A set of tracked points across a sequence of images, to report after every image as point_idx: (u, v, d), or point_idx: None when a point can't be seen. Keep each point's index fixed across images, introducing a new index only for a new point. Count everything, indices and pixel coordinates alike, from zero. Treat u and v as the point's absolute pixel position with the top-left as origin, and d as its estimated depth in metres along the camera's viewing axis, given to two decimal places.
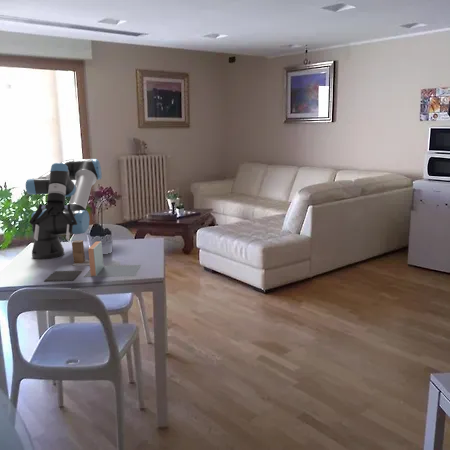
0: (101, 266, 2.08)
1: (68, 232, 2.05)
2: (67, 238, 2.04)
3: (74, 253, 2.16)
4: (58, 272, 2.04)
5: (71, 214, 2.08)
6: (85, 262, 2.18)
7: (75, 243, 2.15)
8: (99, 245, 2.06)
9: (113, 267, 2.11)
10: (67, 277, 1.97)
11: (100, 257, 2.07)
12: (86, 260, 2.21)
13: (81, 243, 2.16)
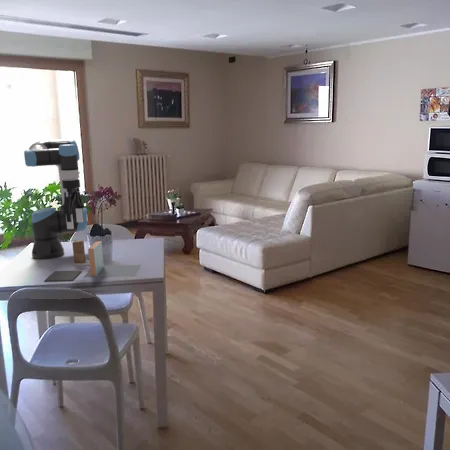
0: (101, 266, 2.08)
1: (81, 216, 2.21)
2: (82, 221, 2.22)
3: (75, 253, 2.16)
4: (58, 272, 2.04)
5: (80, 198, 2.20)
6: (86, 262, 2.18)
7: (76, 243, 2.15)
8: (99, 245, 2.06)
9: (113, 267, 2.11)
10: (67, 277, 1.97)
11: (100, 257, 2.07)
12: (86, 260, 2.21)
13: (81, 243, 2.16)
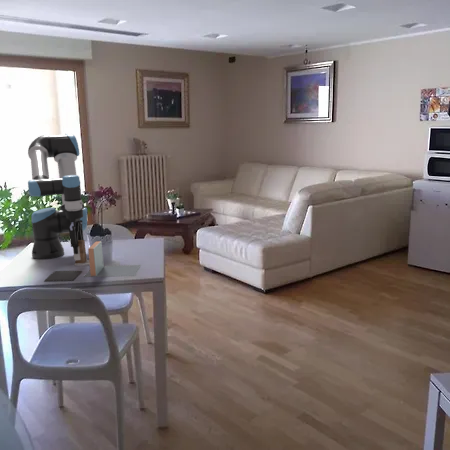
0: (101, 266, 2.08)
1: None
2: None
3: None
4: (58, 272, 2.04)
5: (82, 231, 2.21)
6: (87, 262, 2.18)
7: None
8: (99, 245, 2.06)
9: (113, 267, 2.11)
10: (67, 277, 1.97)
11: (100, 257, 2.07)
12: (87, 260, 2.21)
13: (83, 243, 2.16)
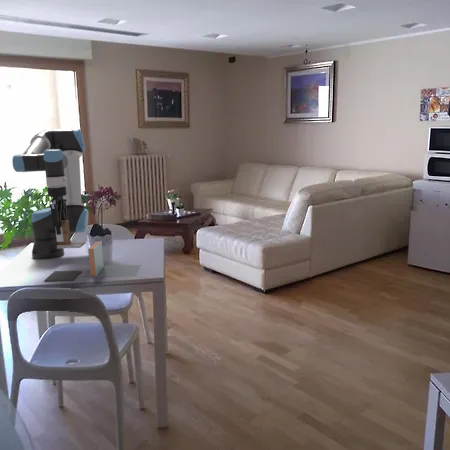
0: (101, 266, 2.08)
1: None
2: None
3: None
4: (58, 272, 2.04)
5: (66, 211, 2.05)
6: (70, 244, 2.02)
7: None
8: (99, 245, 2.06)
9: (113, 267, 2.11)
10: (67, 277, 1.97)
11: (100, 257, 2.07)
12: (71, 242, 2.05)
13: (66, 223, 2.00)
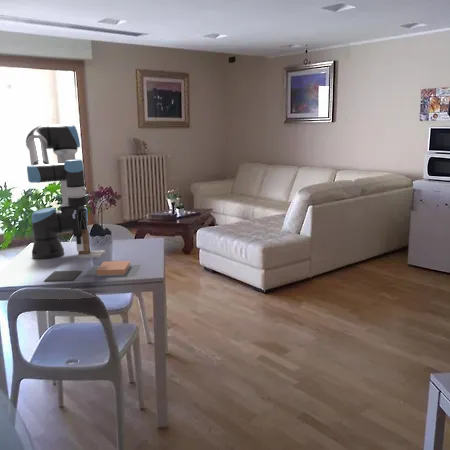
0: None
1: None
2: None
3: None
4: (58, 272, 2.04)
5: (86, 220, 2.06)
6: (90, 253, 2.03)
7: None
8: None
9: None
10: (67, 277, 1.97)
11: None
12: (91, 251, 2.06)
13: (86, 232, 2.01)
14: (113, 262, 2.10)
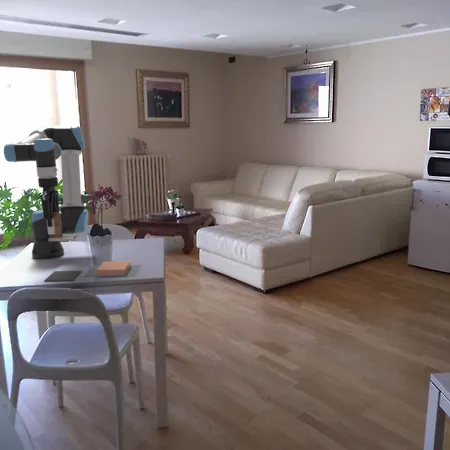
0: None
1: None
2: None
3: None
4: (58, 272, 2.04)
5: (58, 202, 1.99)
6: (62, 236, 1.96)
7: None
8: None
9: None
10: (67, 277, 1.97)
11: None
12: (64, 235, 1.98)
13: (58, 215, 1.94)
14: (113, 262, 2.10)
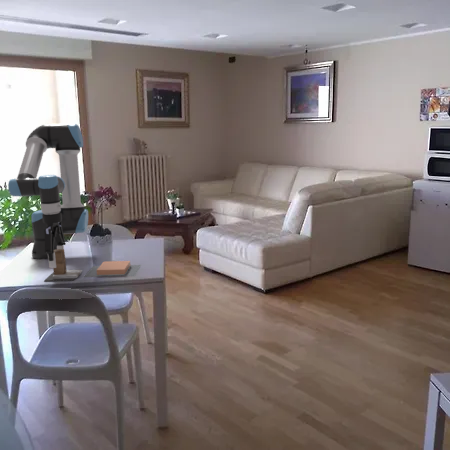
0: None
1: None
2: None
3: None
4: None
5: (62, 233, 2.03)
6: (66, 273, 1.99)
7: (55, 253, 1.96)
8: None
9: None
10: None
11: None
12: (67, 271, 2.02)
13: (62, 252, 1.97)
14: (113, 262, 2.10)
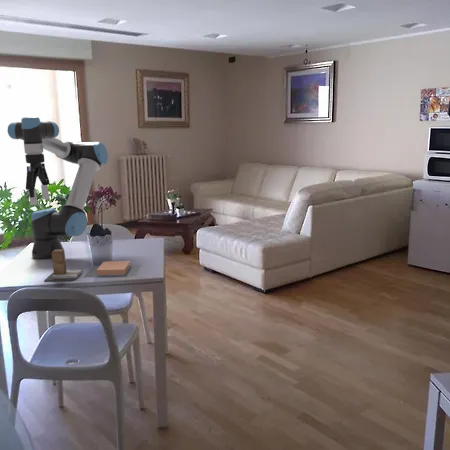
0: None
1: None
2: None
3: (54, 263, 1.97)
4: None
5: (46, 174, 2.12)
6: (66, 273, 1.99)
7: (55, 253, 1.96)
8: None
9: None
10: None
11: None
12: (67, 271, 2.02)
13: (62, 252, 1.97)
14: (113, 262, 2.10)
